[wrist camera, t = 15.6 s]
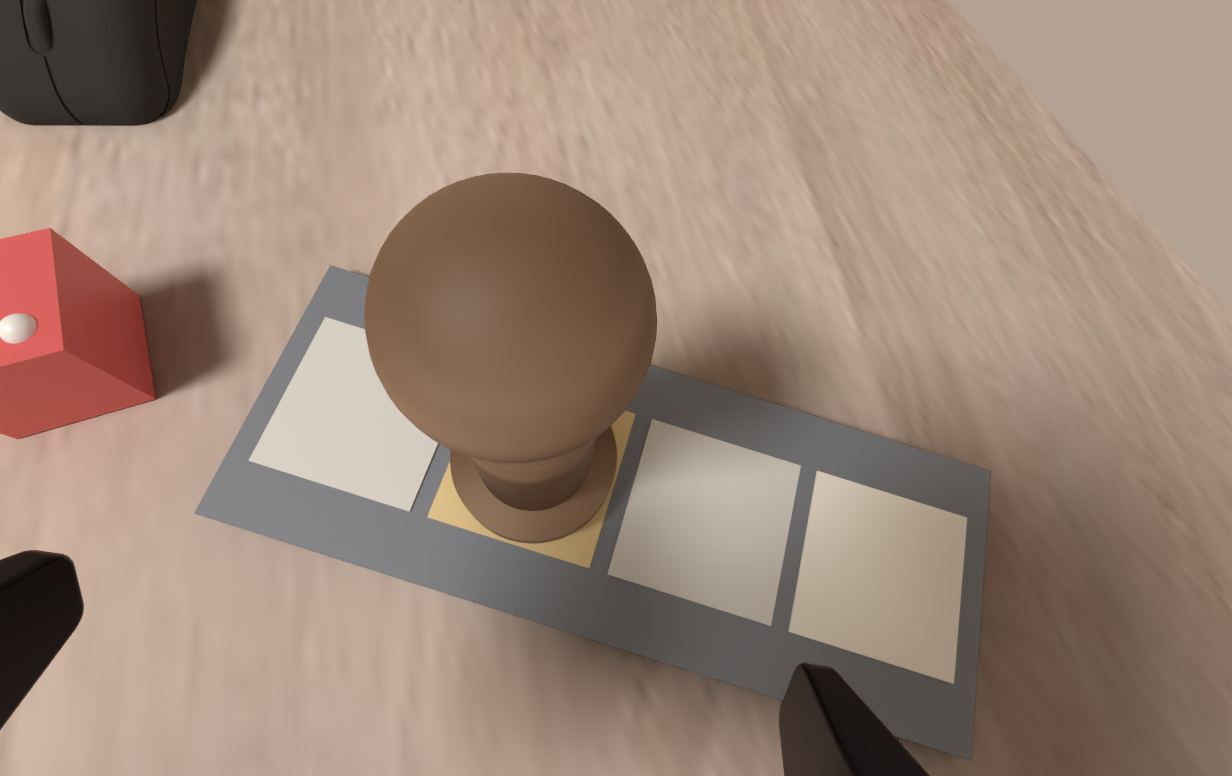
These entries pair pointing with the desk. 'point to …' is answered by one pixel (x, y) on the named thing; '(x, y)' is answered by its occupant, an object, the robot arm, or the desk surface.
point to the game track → (648, 528)
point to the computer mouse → (92, 60)
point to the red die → (65, 337)
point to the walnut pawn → (514, 344)
